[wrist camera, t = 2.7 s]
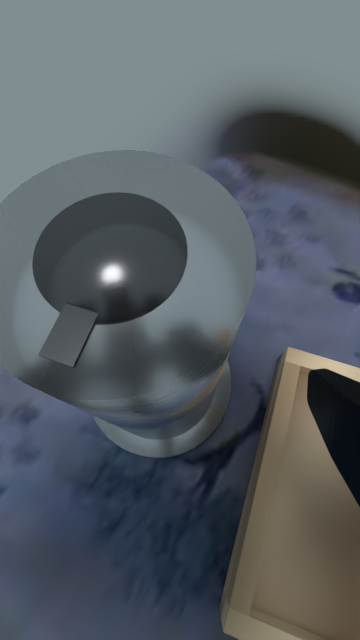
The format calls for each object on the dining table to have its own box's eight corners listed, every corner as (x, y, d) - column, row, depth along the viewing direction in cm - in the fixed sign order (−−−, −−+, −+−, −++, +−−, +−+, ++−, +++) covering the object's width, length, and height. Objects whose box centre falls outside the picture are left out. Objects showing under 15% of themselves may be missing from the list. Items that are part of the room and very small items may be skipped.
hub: (243, 345, 20) (326, 161, 8) (205, 479, 17) (242, 523, 5) (125, 309, 21) (36, 100, 9) (72, 429, 18) (-165, 365, 6)
